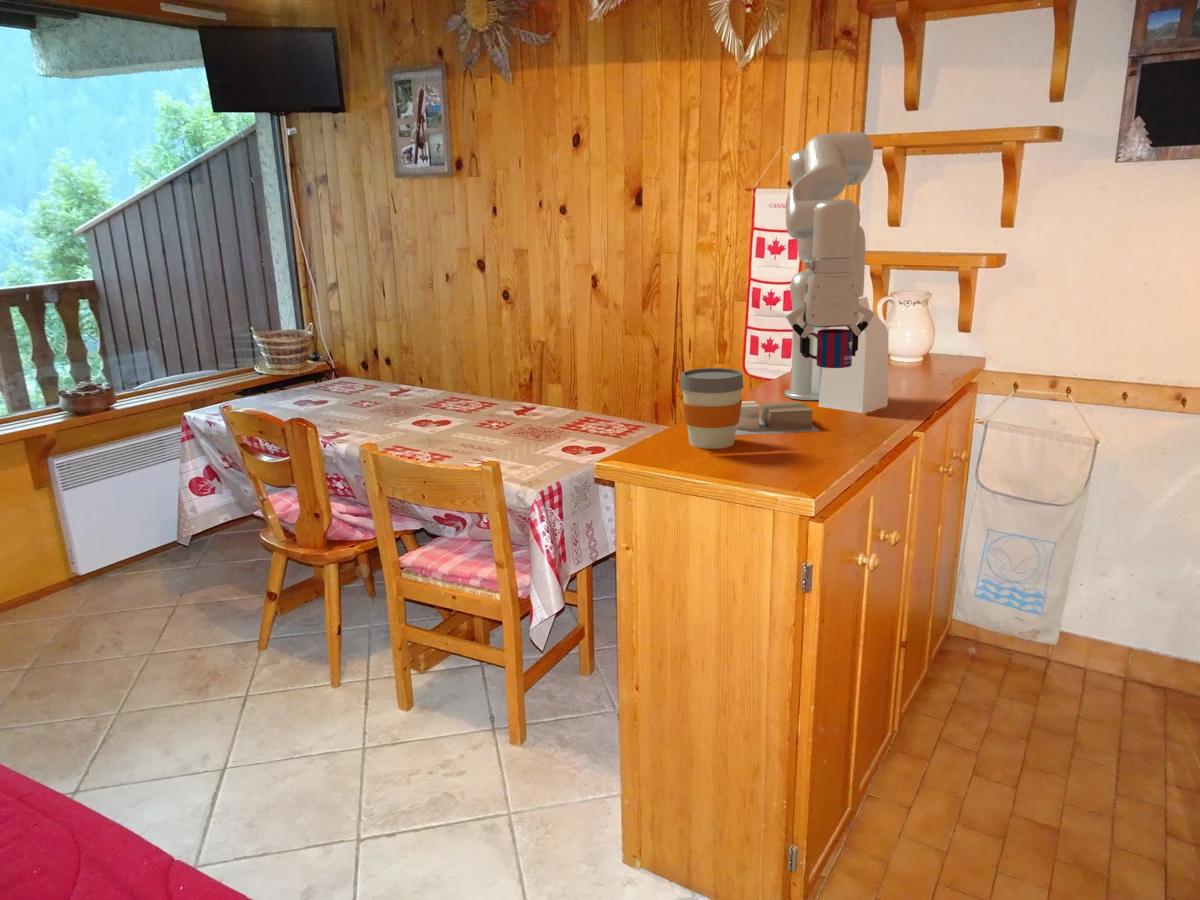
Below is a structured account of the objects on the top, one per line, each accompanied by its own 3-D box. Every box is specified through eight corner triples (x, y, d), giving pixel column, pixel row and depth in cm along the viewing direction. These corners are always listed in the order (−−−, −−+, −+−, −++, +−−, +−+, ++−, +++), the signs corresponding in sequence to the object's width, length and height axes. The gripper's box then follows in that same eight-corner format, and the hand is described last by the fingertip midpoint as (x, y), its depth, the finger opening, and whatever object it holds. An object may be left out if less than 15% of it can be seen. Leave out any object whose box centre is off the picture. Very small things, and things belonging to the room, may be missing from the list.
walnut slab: (760, 420, 190) (760, 403, 189) (800, 418, 190) (800, 401, 189) (770, 430, 181) (770, 412, 180) (811, 428, 182) (812, 410, 181)
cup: (842, 369, 163) (844, 334, 162) (795, 365, 170) (796, 331, 168) (857, 364, 168) (858, 329, 166) (810, 360, 174) (811, 327, 173)
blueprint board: (723, 422, 192) (723, 419, 192) (801, 418, 193) (801, 416, 193) (735, 437, 179) (735, 434, 179) (819, 433, 180) (819, 431, 179)
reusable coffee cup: (729, 456, 165) (730, 380, 161) (670, 450, 171) (670, 376, 167) (751, 441, 176) (752, 369, 172) (695, 435, 182) (695, 366, 178)
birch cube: (731, 424, 188) (731, 402, 187) (753, 423, 188) (754, 401, 187) (736, 429, 183) (736, 406, 182) (759, 428, 183) (759, 405, 182)
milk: (844, 400, 210) (849, 294, 203) (887, 406, 202) (894, 296, 195) (818, 408, 202) (822, 299, 195) (862, 415, 194) (867, 301, 187)
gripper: (792, 270, 160) (789, 360, 164) (883, 266, 160) (878, 357, 165) (782, 267, 167) (780, 354, 172) (869, 264, 167) (865, 351, 172)
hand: (828, 355), depth 168 cm, fingers closed on cup, 8 cm apart
